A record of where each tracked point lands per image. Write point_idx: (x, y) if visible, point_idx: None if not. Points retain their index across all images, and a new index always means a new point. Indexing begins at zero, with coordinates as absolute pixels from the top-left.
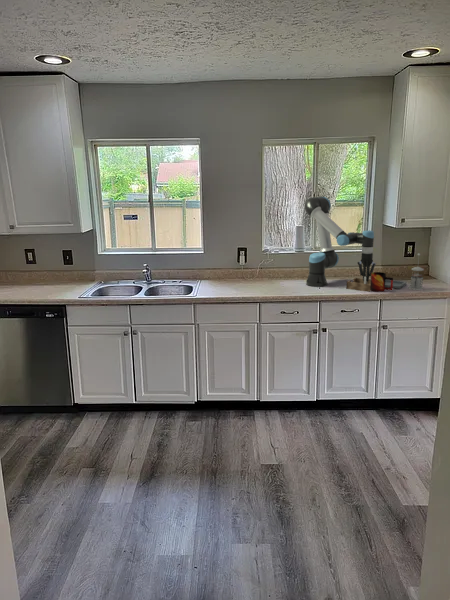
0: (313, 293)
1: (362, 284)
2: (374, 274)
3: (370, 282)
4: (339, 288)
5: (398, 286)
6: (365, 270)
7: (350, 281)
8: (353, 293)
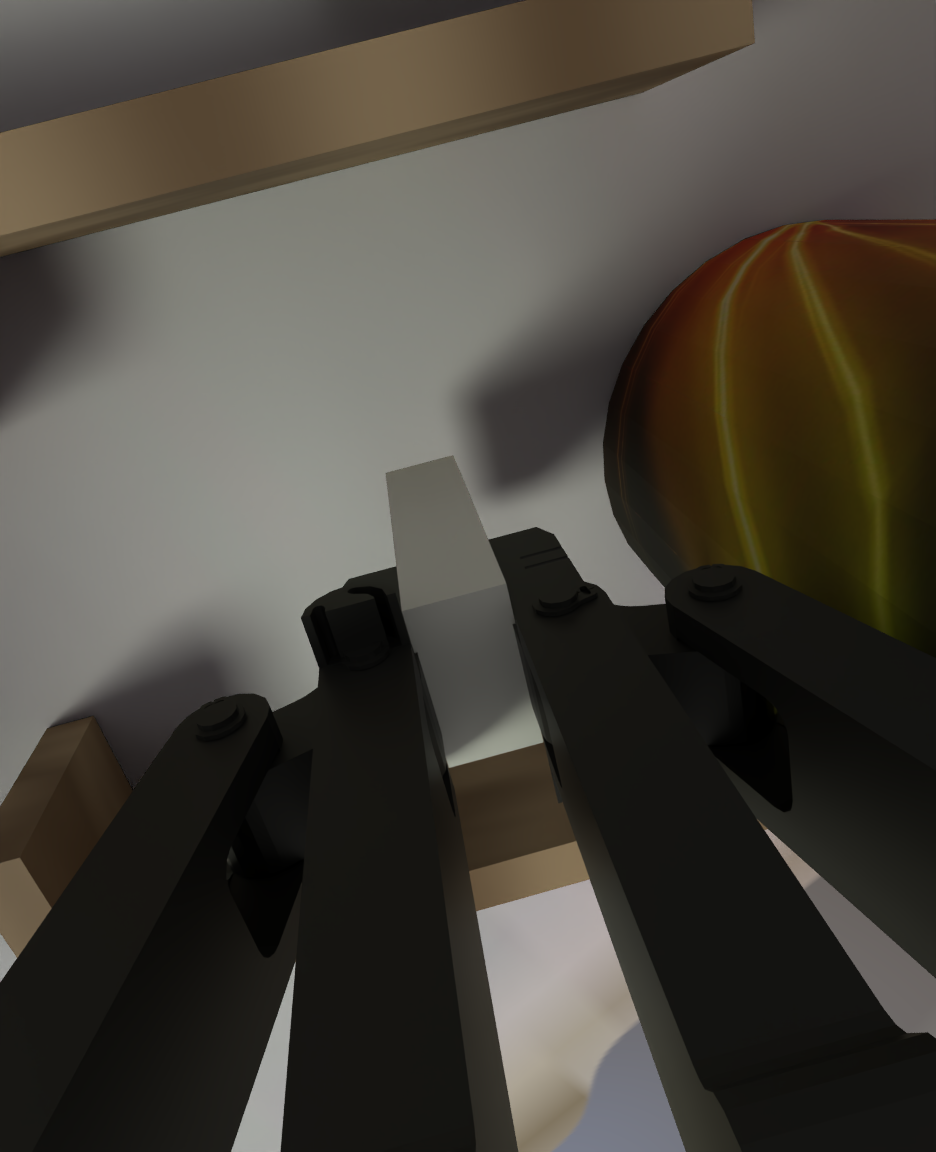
0: None
1: (572, 869)
2: (925, 516)
3: (387, 149)
4: (6, 951)
5: None
6: (465, 929)
7: (38, 865)
8: (528, 998)
